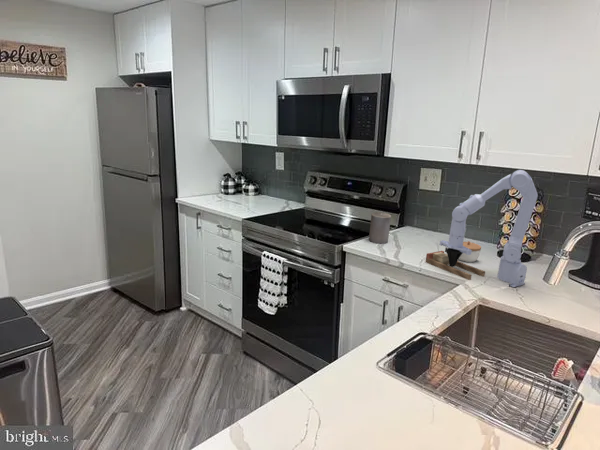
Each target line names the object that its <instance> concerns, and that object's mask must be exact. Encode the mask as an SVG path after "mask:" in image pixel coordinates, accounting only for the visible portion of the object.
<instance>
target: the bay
mask: <svg viewBox="0 0 600 450" xmlns="http://www.w3.org/2000/svg"><path fill="white" fill-rule="evenodd" d="M439 252H442V253H445V251H444V250H439V251H434V252H429V253H426V258H425V263H426V264H429V265H431V266H434V267H435V268H439V269H441V270H444V271H446V272H448V273H451V274H452V275H453V274H454V275H455V276H458V277H460V278H463V279H466V280H468V281H470V280H472V274H470V273H473V274H476V275H478V276H480V277H485V276H486V271H485V270H482V269H480V268H477V267H475V266H472V265H470V264H466V263H465V262H463V261H462V262H461V261H460V260H458V261H457V263H456V265H455V266H454V267H451V266H449V265H445V264H443V263H440V262H438V261H435V260H433V254H434V253H439ZM455 267H457V268H455ZM458 268H460V269H458ZM461 269H463V270H465V271H467V272H465V271H463V270H461ZM468 272H470V273H468Z"/></svg>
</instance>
